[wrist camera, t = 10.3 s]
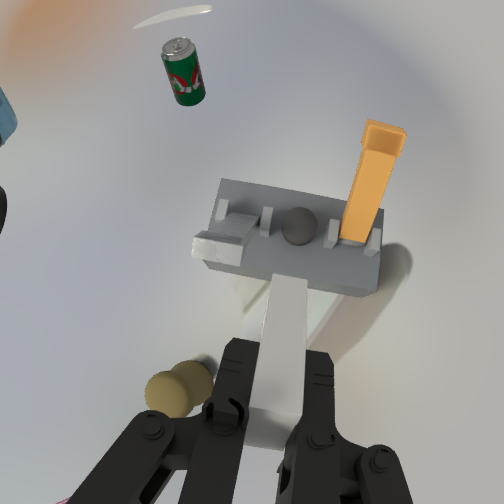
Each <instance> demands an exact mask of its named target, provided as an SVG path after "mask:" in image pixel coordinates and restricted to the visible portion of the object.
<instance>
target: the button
mask: <svg viewBox="0 0 504 504" xmlns="http://www.w3.org/2000/svg"><path fill="white" fill-rule="evenodd" d="M317 226H318V222H317V218H316V216H315V215H314V213H313V212H312V211H310V210H309V209H307V208H304V207H296V208H293V209H291V210H289V211H288V212H287V213H286V215H285V217H284V220H283V226H282V234H283V236H284V238H285V240H286V241H287V242H288V243H290V244H292V245H295V246H303V245H306V244H307V243H309V242H310V241H311V240H312V238H313V236H314V234H315V232H316V230H317Z"/></svg>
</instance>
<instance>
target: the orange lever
mask: <svg viewBox="0 0 504 504" xmlns="http://www.w3.org/2000/svg"><path fill="white" fill-rule="evenodd" d="M406 135H407V134H406V132H405V131H404V129H403V128H400V127H396V126H392V125H389V124H385V123H381V122H378V121H374V120H369V119H367V121H366V125H365V129H364V133H363V137H362V141H361V143H362V147H363V149H362V152H361V156H360V160H359V164H358V167H357V170H356V174H355V177H354V181H353V184H352V188H351V191H350V195H349V198H348V201H347V204H346V207H345V211H344V214H343V217H342V220H341V223H340V227H339V232H338V238H337V242H336V243H341V244H346V245H351V246H356V247H361V248H363V247H364V245H365V241H366V239H367V236H368V234H369V231H370V229H371V226H372V224H373V221H374V218H375V216H376V213H377V211H378V208H379V205H380V203H381V200H382V197H383V194H384V191H385V189H386V186H387V183H388V180H389V177H390V175H391V172H392V169H393V165H394V163H395V160H396V157H400V154H401V151H402V148H403V145H404V142H405V139H406Z"/></svg>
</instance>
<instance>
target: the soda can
mask: <svg viewBox="0 0 504 504" xmlns="http://www.w3.org/2000/svg"><path fill="white" fill-rule="evenodd" d="M161 57H162V60H163V63H164V66H165V69H166V72H167V75H168V78H169V81H170V84H171V86H172V89H173V92H174V95H175V98H176V101H177V102H178V103H179V104H180V105H183V106H194V105H196V104H198V103H199V102H201V101H202V100H203V99H204V97H205V93H206V92H205V87H204V83H203V79H202V75H201V70H200V65H199V61H198V56H197V52H196V48H195V45H194V44H193V43H192V42H191V40H190V39H188V38H185V37H179V38H174V39H172V40H169V41H168V42H166V43H165V44H164V45H163V47H162V53H161Z"/></svg>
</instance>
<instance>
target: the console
mask: <svg viewBox="0 0 504 504" xmlns="http://www.w3.org/2000/svg"><path fill="white" fill-rule="evenodd" d="M346 204H347V201H344V200H339V199H334V198H329V197H324V196H319V195H314V194H309V193H304V192H299V191H293V190H288V189H282V188H277V187H271V186H266V185H260V184H253V183H248V182H242V181H235V180H229V179H221V182H220V186H219V189H218V193H217V197H216V201H215V205H214V208H213V212H212V217H211V220H210V224H209V228H208V229H210V228H211V227H213V226H214V225H215V224H217V223H218V222H219V221H221V220H222V219H223V218H225V217H226V216H227V215H229V214H230V213H231V212H235V213H241V214H247V215H252V216H258V217H261V220H260V225H259V228H257V231H256V233H255V234H254V236H253V238H252V239H251V241H250V243H249V244H248V246H247V248H246V253H245V258H244V260H243V262H242V264H241V265H240V267H239V266H234V265H228V264H223V263H218V262H213V261H208V260H203V259H202V260H203V261H204V262H205V264H206V265H207V266H208V267H209V269H213V270H218V271H223V272H228V273H233V274H238V275H243V276H248V277H253V278H258V279H263V280H268V281H271V280H272V275H273V274H279V275H284V276H290V277H295V278H301V279H306V280H308V281H307V288H311V289H316V290H322V291H327V292H333V293H338V294H344V295H350V296H355V297H361V298H362V297H364V296H366V295H369V294H371V293H373V292H376V291H377V283H378V275H379V266H380V256H381V245H382V232H383V218H384V209H380V208H378V211H377V213H376V216H375V218H374V221H373V224H372V226H371V229H370V231H369V234H368V236H367V239H366V241H365V245H364V247H363V248H361V247H356V246H351V245H346V244H341V243H336V242H337V238H338V232H339V227H340V223H341V220H342V217H343V214H344V211H345V207H346ZM296 207H304V208H307V209H309V210H310V211H312V212H313V213H314V215H315V216H316V218H317V222H318V226H317V230H316V232H315V234H314V236H313V238H312V240H311V241H310V242H309V243H307V244H306V245H303V246H295V245H292V244H290V243H288V242H287V241H286V240H285V238H284V236H283V234H282V226H283V220H284V217H285V215H286V213H287V212H288V211H289V210H291V209H293V208H296Z"/></svg>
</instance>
